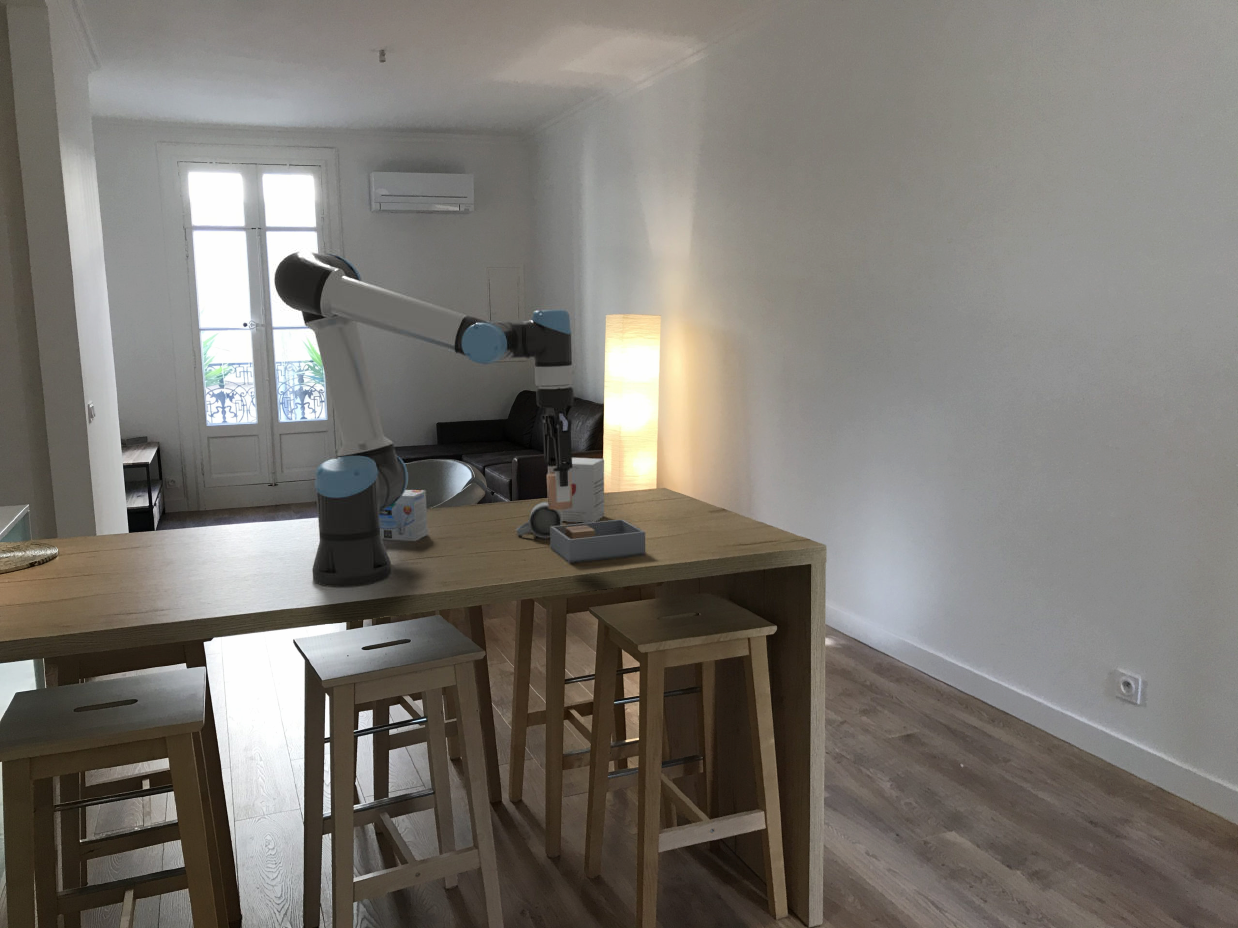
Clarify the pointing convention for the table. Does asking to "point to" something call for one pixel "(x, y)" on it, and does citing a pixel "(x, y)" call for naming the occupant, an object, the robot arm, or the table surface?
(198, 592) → the table surface
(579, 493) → the supplement box
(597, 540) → the tote
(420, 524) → the light bulb box
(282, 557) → the table surface
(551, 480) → the glossy tan capsule
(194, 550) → the table surface
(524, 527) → the ceramic mug
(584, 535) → the walnut cube
